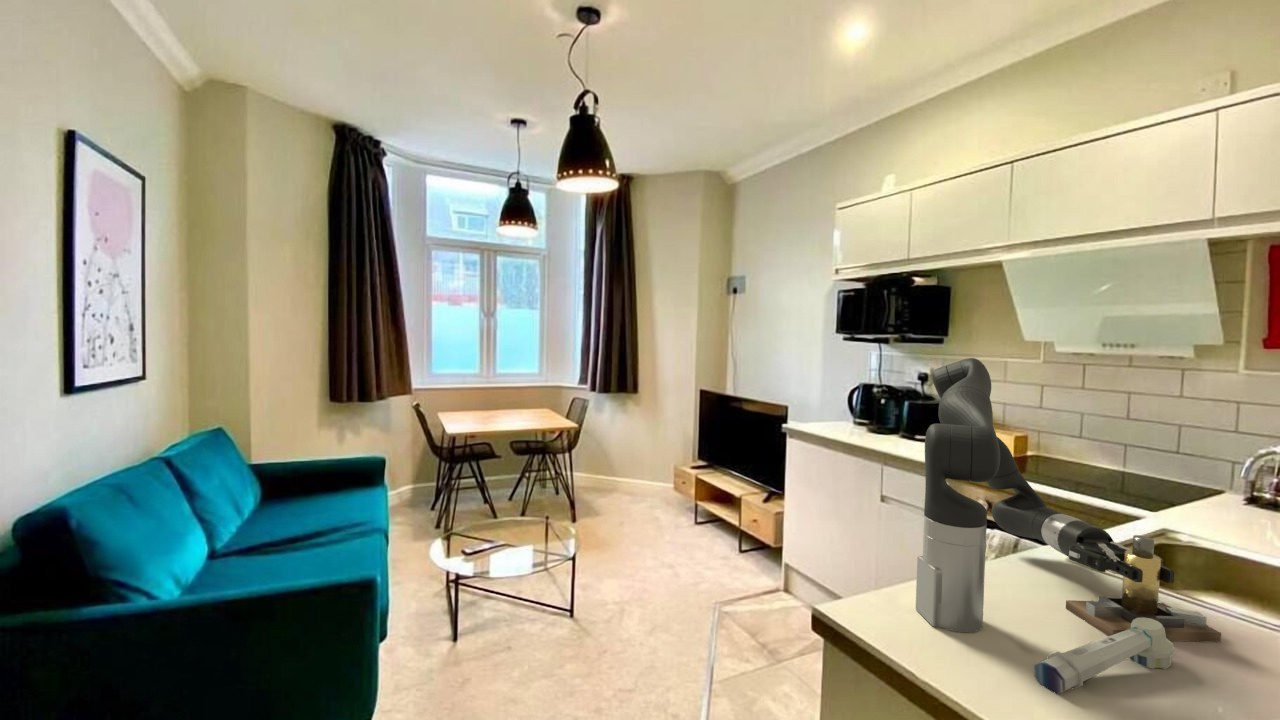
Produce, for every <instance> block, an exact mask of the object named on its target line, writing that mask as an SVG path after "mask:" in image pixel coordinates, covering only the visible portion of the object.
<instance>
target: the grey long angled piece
mask: <svg viewBox="0 0 1280 720" xmlns="http://www.w3.org/2000/svg"><path fill="white" fill-rule="evenodd" d="M1174 647H1175V645H1174V643H1172V641H1169V640H1168V639H1167V638H1166V634H1165V629H1164V627H1163V625H1162V624H1161V623H1160V622H1158V621H1156V620H1154V619H1150V618H1144V617H1143V618H1136V619H1134V620H1133V621H1132V623H1131V629H1128V630H1125V631H1122V632H1120V633H1117V634H1114V635H1111V636H1106V637H1103V638H1101V639H1098V640H1095V641H1092V642H1089V643H1087V644H1086V643H1085V644H1084V645H1080V646H1079V647H1075V648H1073V649H1069V650H1067V651H1065V652H1060V651H1056V652H1054V653H1051V654H1048V655H1047V659H1045V660H1043V661H1040V662H1038V663H1036V664H1033V666H1032V667H1033V677H1034V678H1035V680H1036V681H1037V682H1038V684H1039V685H1041V686H1042V687H1043V686H1044V688H1045V689H1047V690H1049V691H1050V692H1052V693H1054V692H1055V693H1056V694H1057V695H1058V694H1061V693H1062V692H1065V691H1067V690H1069V689H1072V688H1073V689H1072V690H1074V689H1077V688H1080V687H1083V686H1084V682H1085V681H1086V680H1089V679H1090V678H1091V679H1092V678H1093V677H1095V676H1096V675H1098V674H1100V673H1103V672H1104V671H1107V670H1108V669H1109V668H1112V667H1115V666H1116V665H1118V664H1120V663H1121V662H1123V661H1126V660H1127V659H1130V660H1131V661H1132V662H1134V663H1135V664H1138V665H1140V666H1143V667H1145V668H1146V667H1147V668H1150V669H1154V670H1155V668H1160V669H1163V670H1167V669H1168V668H1170V667H1171V666H1172V665H1171V663H1172V657H1171V656H1174V655H1175V648H1174ZM1055 693H1054V694H1055Z"/></svg>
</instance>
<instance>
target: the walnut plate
mask: <svg viewBox="0 0 1280 720" xmlns="http://www.w3.org/2000/svg"><path fill="white" fill-rule="evenodd" d="M1086 601H1087V600H1068V599H1066V600H1065V609H1066V610H1067V611H1069V612H1071V613H1072V614H1073V615H1074V616H1077V617H1078V618H1079V619H1081V620H1083V621H1084V620H1085V621H1084V622H1086V623H1087V624H1089V625H1090V626H1092V627H1094V628H1096V629H1097V630H1098V631H1099V632H1102V633H1103V634H1104V635H1106V637H1109V636H1111V635H1114V634H1117V633H1120V632H1122V631H1125V630H1128V629H1131V623H1129V622H1128V621H1126V620H1124V619H1122V618H1116V617H1094V616H1092V615H1090V614H1089V613H1087V612H1086ZM1093 601H1094V602H1098V600H1093ZM1158 605H1159V606H1161V607H1163V608H1164V609H1166V607H1168V608H1173V607H1172V606H1170V605H1168V604H1166V603H1164V602H1158ZM1124 608H1125V609H1127V610H1129V611H1131V612H1132V613H1134V614H1136V615H1146V616H1156V615H1154V614H1144V613H1139V612H1136V611H1133V610H1130V609H1128V608H1126V607H1124ZM1164 629H1165V634H1166V638H1167V639H1168V640H1169V641H1170V642H1173V641H1175V642H1176V641H1177V642H1179V641H1180V642H1205V643H1207V642H1209V643H1211V642H1212V643H1214V642H1215V643H1222V632H1221V631H1218V630H1217V629H1215V628H1213V627H1211V626H1209V625H1207V624H1206V628H1201V627H1195V626H1189V625H1184V628H1166V627H1164Z"/></svg>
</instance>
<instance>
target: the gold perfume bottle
mask: <svg viewBox="0 0 1280 720" xmlns="http://www.w3.org/2000/svg"><path fill="white" fill-rule="evenodd" d="M1131 549H1132V550H1127V551H1125V556H1124V561H1125V562H1127V563H1128V564H1131V565H1133V566H1135V567H1137V568H1139V569H1141V570H1142V572H1143V578H1142V582H1134V581H1132V580H1130V579H1129V578H1127V577H1125V576H1123V575H1122V587H1121V589H1122V590H1121V596H1122V602H1121V603H1122V605H1123V606H1125V607H1126V608H1128V609H1130V610H1133V611H1136V612H1139V613H1144V614H1157V610H1158V603H1159V593H1160V591H1159V590H1160V581H1161V580H1160V566H1161V559H1160V558H1161V557H1160V556H1159V557H1160V558H1159V557H1157V556H1158V555H1157V556H1155V555H1153V553H1154V549H1155V539H1154V538H1152V537H1149V536H1145V535H1139V534H1135V535H1133V537H1132V548H1131Z"/></svg>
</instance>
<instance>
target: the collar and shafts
mask: <svg viewBox="0 0 1280 720" xmlns="http://www.w3.org/2000/svg"><path fill="white" fill-rule="evenodd" d="M1085 601H1086V612H1087V613H1089V614H1090V615H1092V616H1094V617H1116V618H1122V619H1124V620H1126V621H1128V622H1129V623H1132V621H1133V620H1134V619H1136V618H1143V617H1144V618H1150V619H1154V620H1156V621H1158V622H1160V623H1161V624H1162V625H1163V627H1166V628H1184V625H1189V626H1195V627H1201V628H1206V625H1207V616H1206V615H1204V614H1203V613H1202V612H1199V611H1194V610H1188V609H1180V608H1174V607H1172V608H1168V607H1166V609H1164V608H1163V607H1161V606H1159V605H1158V610H1157V614H1154V615H1156V616H1146V615H1136V614H1134V613H1132V612H1131V611H1129V610H1127V609H1125V608H1124V607H1125V606H1123V605H1122V603H1121V602H1122V595H1121V596H1120V595H1119V596H1115V595H1114V596H1113V595H1111V596H1110V595H1098V599H1097V601H1098V602H1094V601H1095V600H1085Z"/></svg>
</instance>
